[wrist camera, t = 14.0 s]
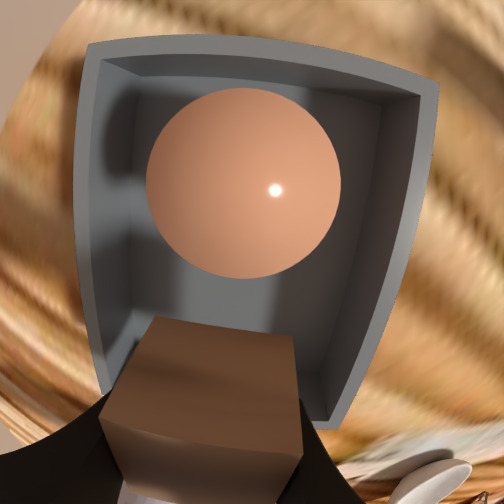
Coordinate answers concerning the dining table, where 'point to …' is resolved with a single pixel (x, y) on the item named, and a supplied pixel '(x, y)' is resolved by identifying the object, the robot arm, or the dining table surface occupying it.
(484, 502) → the coffee press
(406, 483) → the spoon rest
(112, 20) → the dining table surface
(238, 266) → the tan rounded piece
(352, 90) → the grey tote
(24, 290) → the dining table surface
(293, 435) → the walnut cube
